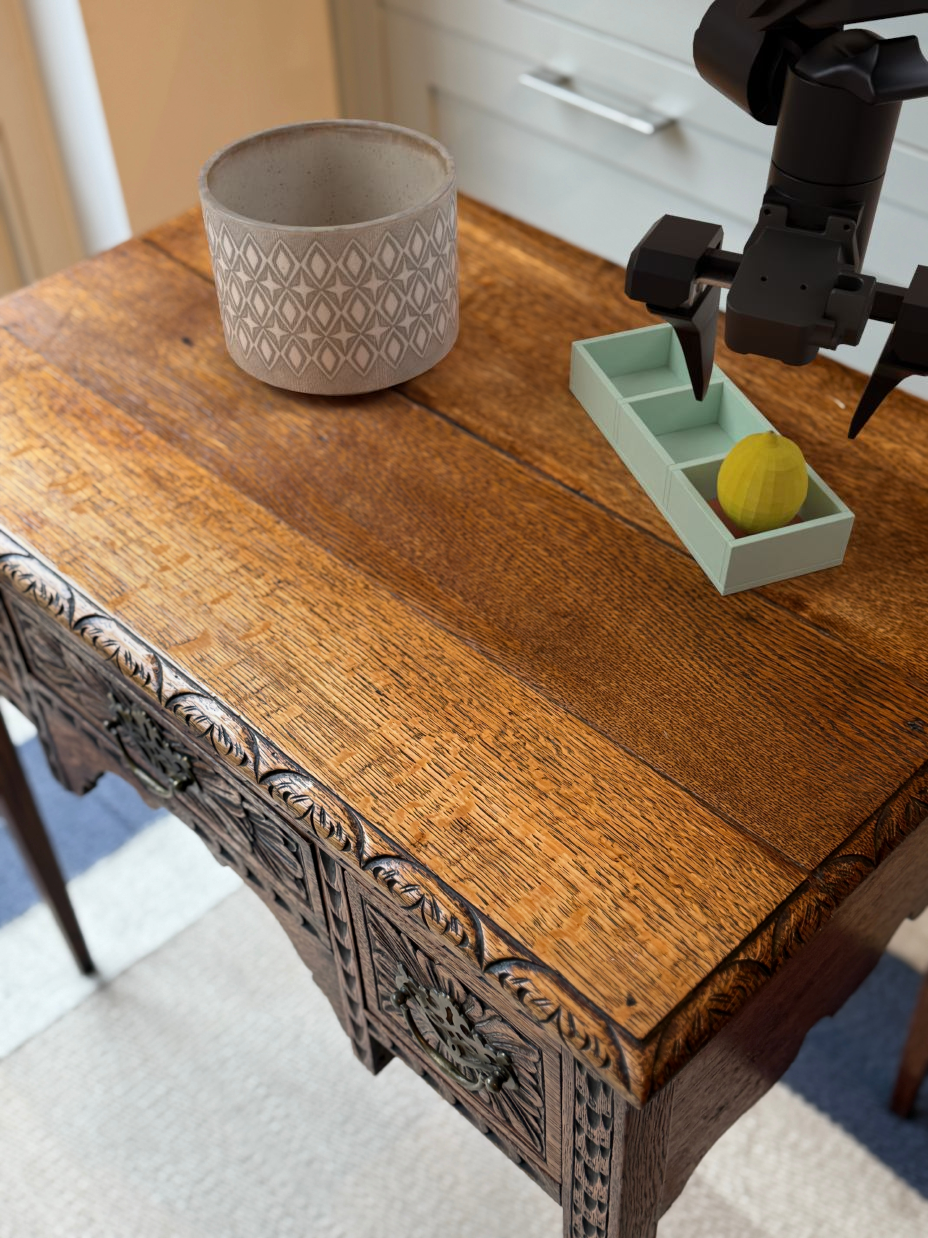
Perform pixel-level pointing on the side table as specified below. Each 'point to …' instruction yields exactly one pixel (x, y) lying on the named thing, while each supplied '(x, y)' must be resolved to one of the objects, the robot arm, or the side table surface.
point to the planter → (334, 253)
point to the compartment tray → (698, 457)
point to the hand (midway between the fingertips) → (775, 416)
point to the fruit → (762, 482)
